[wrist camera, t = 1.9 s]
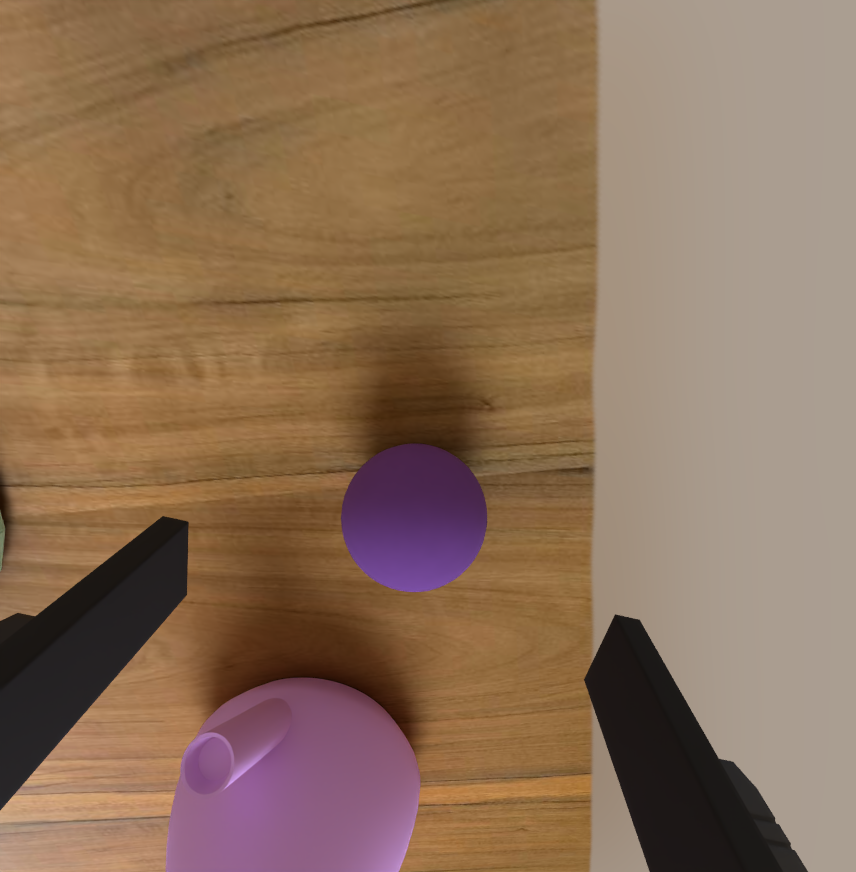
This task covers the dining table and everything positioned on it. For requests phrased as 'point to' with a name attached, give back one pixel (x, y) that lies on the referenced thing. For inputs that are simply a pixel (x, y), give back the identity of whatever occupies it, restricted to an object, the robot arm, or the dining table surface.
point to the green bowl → (1, 539)
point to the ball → (414, 517)
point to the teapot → (295, 785)
